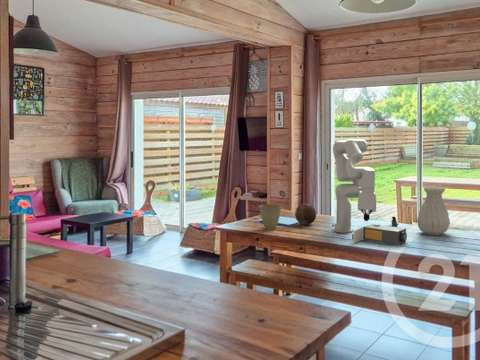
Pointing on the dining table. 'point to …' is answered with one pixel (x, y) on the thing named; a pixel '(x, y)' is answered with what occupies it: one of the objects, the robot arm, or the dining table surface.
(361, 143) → the robot arm
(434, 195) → the vase
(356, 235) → the side door
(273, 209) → the plant pot
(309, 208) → the wooden sphere
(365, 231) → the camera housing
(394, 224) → the binoculars
